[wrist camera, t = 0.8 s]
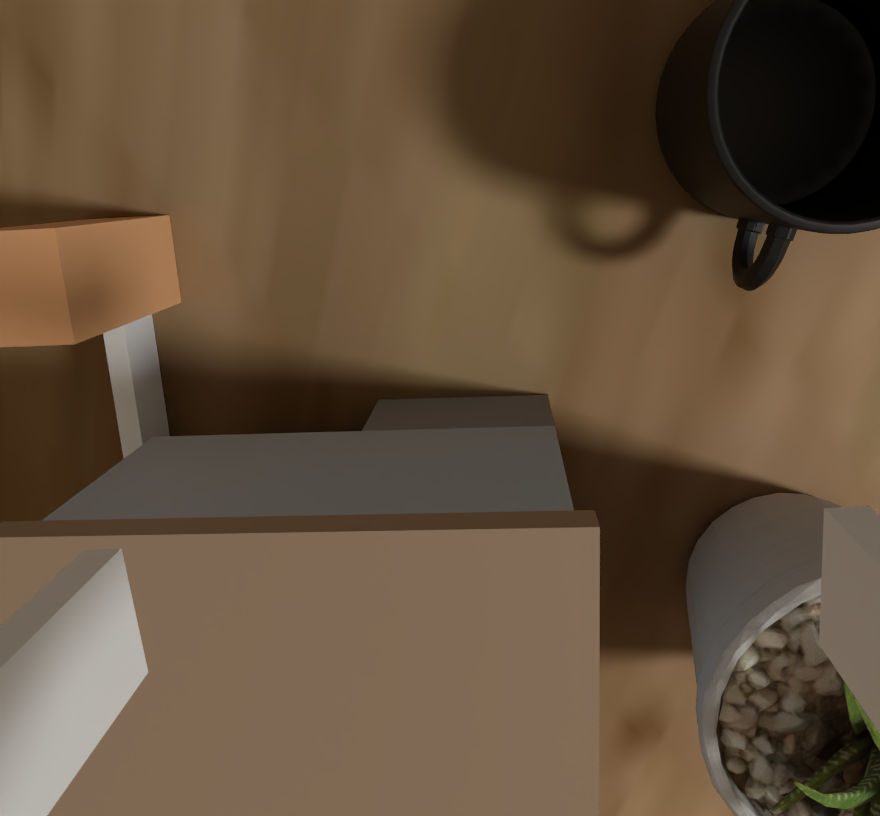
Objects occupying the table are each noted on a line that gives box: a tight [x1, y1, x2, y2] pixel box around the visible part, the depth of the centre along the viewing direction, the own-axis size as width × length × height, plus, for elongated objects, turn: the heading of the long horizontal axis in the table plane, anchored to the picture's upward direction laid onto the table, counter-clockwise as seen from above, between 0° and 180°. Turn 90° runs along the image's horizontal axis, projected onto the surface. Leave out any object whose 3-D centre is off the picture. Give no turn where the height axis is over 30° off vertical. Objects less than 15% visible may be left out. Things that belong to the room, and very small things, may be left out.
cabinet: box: [0, 394, 600, 816], centre depth 33 cm, size 14×18×16 cm
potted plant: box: [686, 493, 880, 816], centre depth 30 cm, size 13×14×20 cm
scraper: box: [0, 215, 181, 459], centre depth 35 cm, size 16×4×10 cm, turn 3°
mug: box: [656, 0, 880, 291], centre depth 30 cm, size 9×12×9 cm
